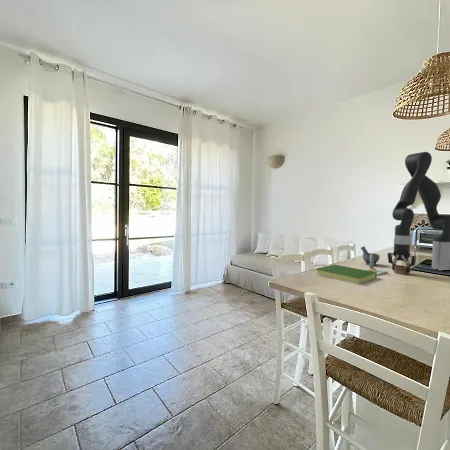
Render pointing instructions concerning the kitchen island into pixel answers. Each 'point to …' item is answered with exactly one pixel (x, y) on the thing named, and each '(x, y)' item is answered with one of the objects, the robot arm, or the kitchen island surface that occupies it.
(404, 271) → the ring
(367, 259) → the mortar and pestle
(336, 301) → the kitchen island surface
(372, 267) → the post
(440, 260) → the robot arm
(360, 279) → the hardcover book
